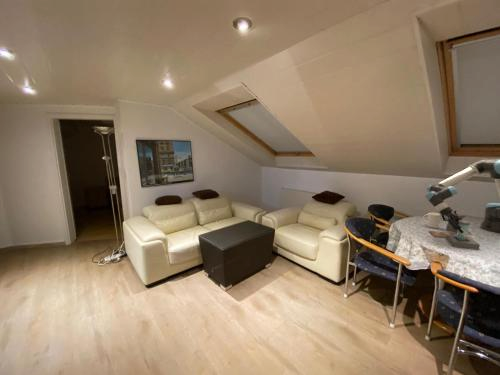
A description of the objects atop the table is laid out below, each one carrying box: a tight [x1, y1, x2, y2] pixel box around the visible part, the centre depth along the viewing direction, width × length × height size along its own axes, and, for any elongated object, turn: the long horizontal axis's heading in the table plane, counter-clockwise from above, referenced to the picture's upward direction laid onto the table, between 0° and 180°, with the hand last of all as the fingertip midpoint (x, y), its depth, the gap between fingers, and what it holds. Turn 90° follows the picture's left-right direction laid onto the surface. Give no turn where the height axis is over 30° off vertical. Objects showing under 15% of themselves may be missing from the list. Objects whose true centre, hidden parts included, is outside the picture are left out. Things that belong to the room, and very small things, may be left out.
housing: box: [445, 234, 481, 251], centre depth 158 cm, size 14×14×4 cm
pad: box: [428, 230, 456, 239], centre depth 175 cm, size 16×12×1 cm
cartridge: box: [456, 219, 471, 241], centre depth 157 cm, size 6×6×17 cm
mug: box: [422, 212, 441, 229], centre depth 195 cm, size 12×8×12 cm
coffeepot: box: [441, 210, 466, 234], centre depth 182 cm, size 15×9×18 cm, turn 34°
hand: (469, 235), depth 154 cm, fingers closed on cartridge, 6 cm apart
